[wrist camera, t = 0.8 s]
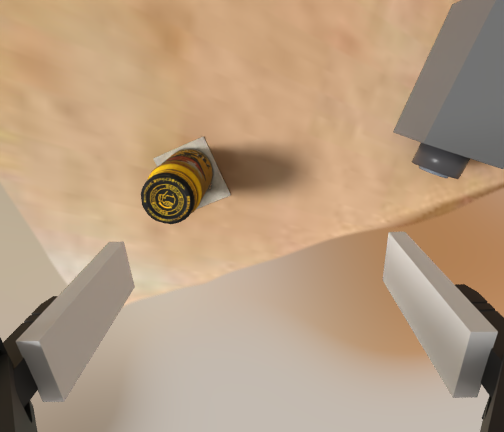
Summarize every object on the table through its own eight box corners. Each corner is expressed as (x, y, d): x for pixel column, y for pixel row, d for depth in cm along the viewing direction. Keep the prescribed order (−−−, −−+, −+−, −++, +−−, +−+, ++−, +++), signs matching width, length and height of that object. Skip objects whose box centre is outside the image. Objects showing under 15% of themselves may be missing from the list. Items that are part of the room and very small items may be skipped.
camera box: (452, 4, 34) (510, -20, 26) (527, 32, 35) (605, 16, 27) (383, 153, 40) (412, 170, 32) (448, 174, 41) (492, 195, 33)
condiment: (203, 136, 40) (181, 155, 29) (231, 194, 43) (220, 232, 32) (153, 158, 42) (114, 185, 31) (183, 213, 44) (157, 256, 33)
